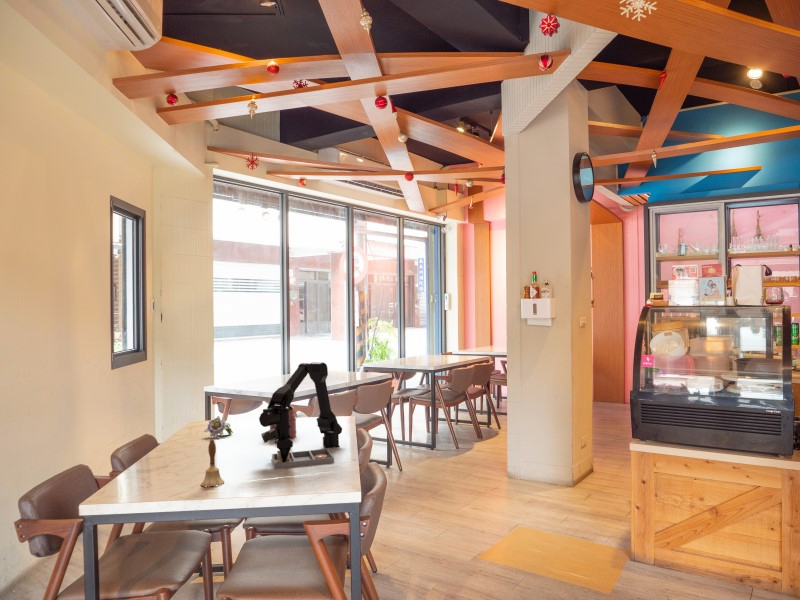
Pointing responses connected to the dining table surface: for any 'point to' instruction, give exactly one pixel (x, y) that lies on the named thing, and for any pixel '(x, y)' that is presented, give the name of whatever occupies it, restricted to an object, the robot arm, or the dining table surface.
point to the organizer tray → (304, 458)
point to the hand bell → (212, 469)
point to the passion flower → (218, 427)
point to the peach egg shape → (320, 456)
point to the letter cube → (281, 457)
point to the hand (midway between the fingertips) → (283, 460)
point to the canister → (292, 423)
